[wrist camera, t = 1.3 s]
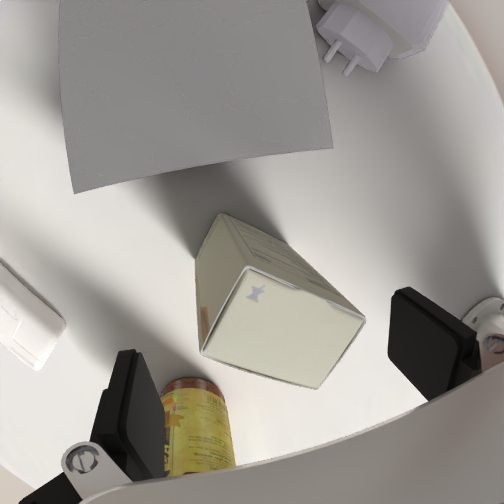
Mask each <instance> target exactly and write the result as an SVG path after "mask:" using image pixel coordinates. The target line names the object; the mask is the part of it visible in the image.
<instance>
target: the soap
mask: <svg viewBox="0 0 504 504" xmlns="http://www.w3.org/2000/svg"><path fill="white" fill-rule="evenodd" d="M65 327H66V323H65V321H64V320H63V319H62V318H61V317H60V316H59V315H58V314H56V313H55V312H54V311H53V310H52V309H50V308H49V307H48V306H47V305H46V304H45V303H43V302H42V301H41V300H40V299H39V298H38V297H36V296H35V295H34V294H33V293H32V292H31V291H30V290H28V289H27V288H26V287H25V286H24V285H23V284H22V283H21V282H20V281H19V280H17V278H15V277H14V276H13V275H12V274H11V273H10V272H9V271H8V270H7V269H6V268H5V267H4V266H3V265H2V264H1V263H0V343H2V344H3V345H4V346H5V347H6V348H7V349H9V350H10V351H11V352H12V353H13V354H14V355H16V356H17V357H18V358H19V359H20V360H22V361H23V362H24V363H25V364H27V365H28V366H29V367H30V368H31V369H33V370H36V371H37V370H40V369H41V368H42V366H43V365H44V363H45V361H46V360H47V358H48V357H49V355H50V353H51V351H52V350H53V348H54V346H55V345H56V343H57V341H58V340H59V338H60V336H61V335H62V333H63V332H64V330H65Z"/></svg>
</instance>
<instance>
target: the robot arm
mask: <svg viewBox="0 0 504 504" xmlns="http://www.w3.org/2000/svg"><path fill="white" fill-rule="evenodd" d="M388 357H389V359H390V360H391V361H392V362H393V364H394V365H395V366H396V367H397V368H398V369H399V370H400V371H401V372H402V373H403V374H404V375H405V376H406V378H407V379H408V380H409V381H410V382H411V383H412V384H413V385H414V386H415V387H416V388H417V389H418V391H419V392H420V393H421V394H422V395H423V396H424V397H425V398H426V399H427V400H428V402H426V403H424V404H422V405H420V406H418V407H416V408H414V409H412V410H409V411H407V412H405V413H403V414H400V415H398V416H396V417H394V418H391V419H389V420H387V421H384V422H382V423H379V424H377V425H374V426H372V427H369V428H367V429H364V430H362V431H359V432H356V433H354V434H351V435H348V436H345V437H342V438H339V439H337V440H334V441H331V442H328V443H324V444H321V445H318V446H315V447H312V448H308V449H305V450H301V451H298V452H294V453H291V454H287V455H283V456H279V457H275V458H271V459H267V460H263V461H258V462H254V463H249V464H244V465H239V466H234V467H229V468H223V469H218V470H212V471H206V472H200V473H193V474H186V475H178V476H171V477H165V410H164V407H163V404H162V402H161V400H160V397H159V395H158V393H157V390H156V388H155V385H154V383H153V381H152V378H151V376H150V373H149V370H148V368H147V365H146V363H145V360H144V358H143V355H142V353H141V352H138V353H137V352H136V350H135V349H131V350H124V351H119V352H118V355H117V358H116V362H115V365H114V368H113V372H112V375H111V379H110V382H109V386H108V389H105V390H103V392H102V395H101V399H100V402H99V406H98V410H97V413H96V417H95V421H94V425H93V429H92V433H91V437H90V441H89V442H80V443H77V444H75V445H72V446H71V447H70V448H68V449H67V450H66V452H65V453H64V454H63V457H62V459H61V466H62V469H63V471H64V472H62V473H61V474H60V475H58V476H57V477H55V478H54V479H52V480H51V481H49V482H48V483H46V484H45V485H43V486H42V487H40V488H39V489H37V490H36V491H34V492H33V493H31V494H29V495H28V496H26V497H25V498H23V499H22V500H21V501H20V502H19V504H504V300H502V299H500V298H498V297H491V298H488V299H486V300H483V301H482V302H480V303H479V304H478V305H476V306H475V307H474V308H473V309H472V310H471V311H470V312H469V313H468V314H467V315H466V316H465V317H464V319H463V320H462V321H460V320H459V319H457V318H456V317H454V316H453V315H452V314H450V313H449V312H447V311H446V310H444V309H443V308H441V307H440V306H438V305H437V304H435V303H434V302H432V301H431V300H429V299H428V298H426V297H425V296H423V295H422V294H420V293H419V292H417V291H416V290H414V289H413V288H411V287H405V288H402V289H399V290H396V291H395V293H394V295H393V296H392V298H391V314H390V328H389V340H388Z"/></svg>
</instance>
